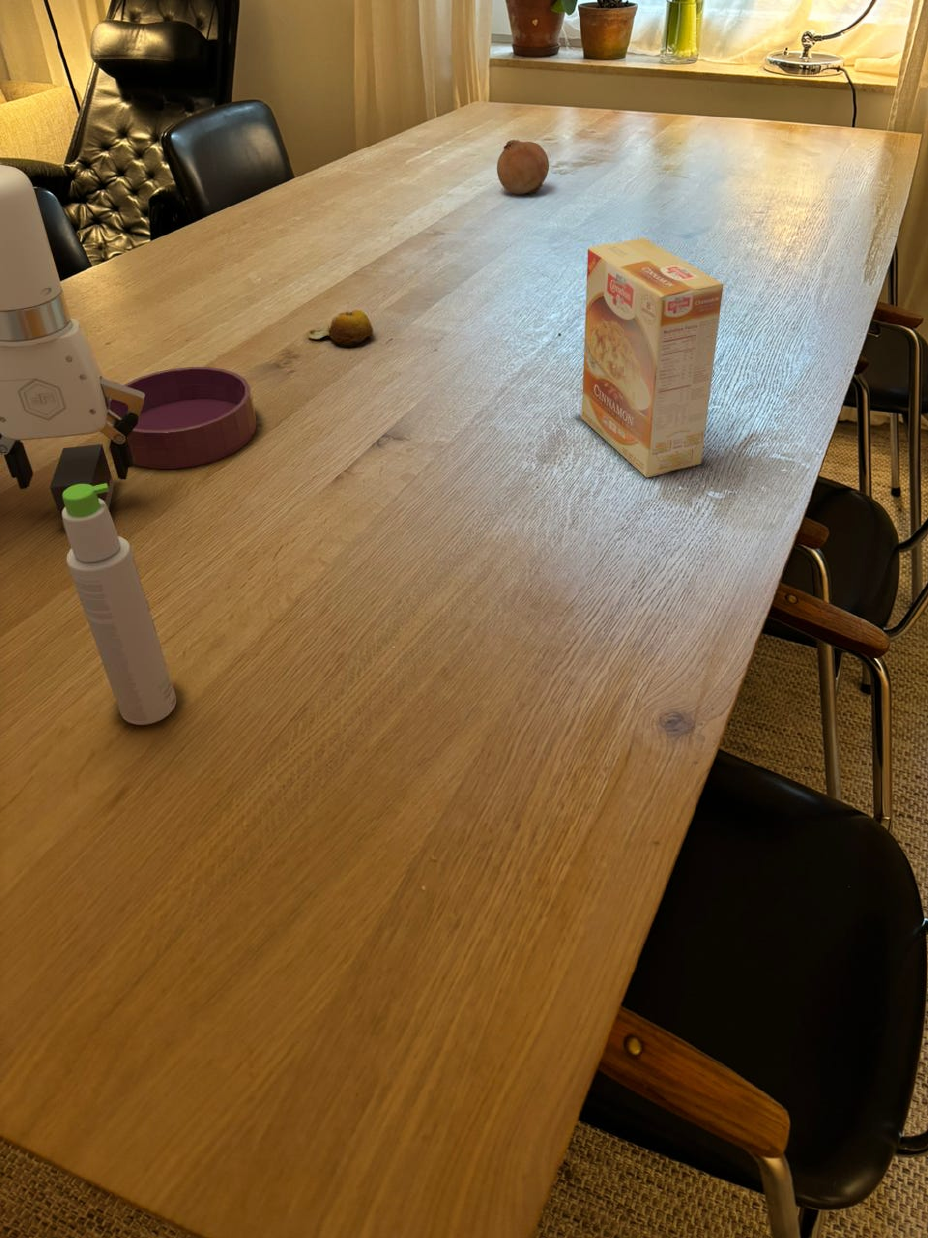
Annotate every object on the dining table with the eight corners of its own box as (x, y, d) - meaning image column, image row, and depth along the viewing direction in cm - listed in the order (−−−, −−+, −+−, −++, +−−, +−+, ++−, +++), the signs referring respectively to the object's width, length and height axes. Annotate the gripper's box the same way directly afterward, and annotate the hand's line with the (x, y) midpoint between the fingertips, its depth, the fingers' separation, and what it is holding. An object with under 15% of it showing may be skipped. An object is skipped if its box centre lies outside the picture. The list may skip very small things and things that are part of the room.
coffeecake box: (578, 418, 114) (585, 246, 101) (633, 405, 116) (646, 235, 103) (644, 479, 103) (660, 295, 91) (703, 464, 105) (727, 281, 92)
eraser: (64, 530, 100) (49, 487, 96) (76, 489, 106) (62, 447, 103) (105, 525, 100) (91, 482, 97) (114, 485, 106) (102, 443, 103)
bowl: (105, 476, 108) (94, 439, 105) (122, 408, 120) (112, 374, 117) (256, 460, 109) (248, 423, 106) (257, 395, 122) (251, 360, 119)
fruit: (353, 319, 139) (350, 293, 136) (389, 336, 134) (387, 309, 131) (304, 337, 135) (300, 310, 132) (339, 355, 130) (336, 328, 127)
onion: (502, 210, 184) (477, 158, 180) (536, 184, 187) (512, 133, 183) (533, 201, 177) (507, 147, 172) (568, 175, 180) (544, 120, 175)
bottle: (172, 723, 77) (104, 506, 65) (115, 728, 77) (36, 511, 65) (180, 685, 81) (117, 472, 68) (126, 689, 81) (52, 476, 68)
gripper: (-86, 339, 87) (-21, 505, 97) (117, 323, 88) (159, 488, 99) (-64, 307, 92) (-5, 467, 103) (126, 292, 94) (165, 451, 105)
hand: (75, 477), depth 101 cm, fingers open, 9 cm apart
